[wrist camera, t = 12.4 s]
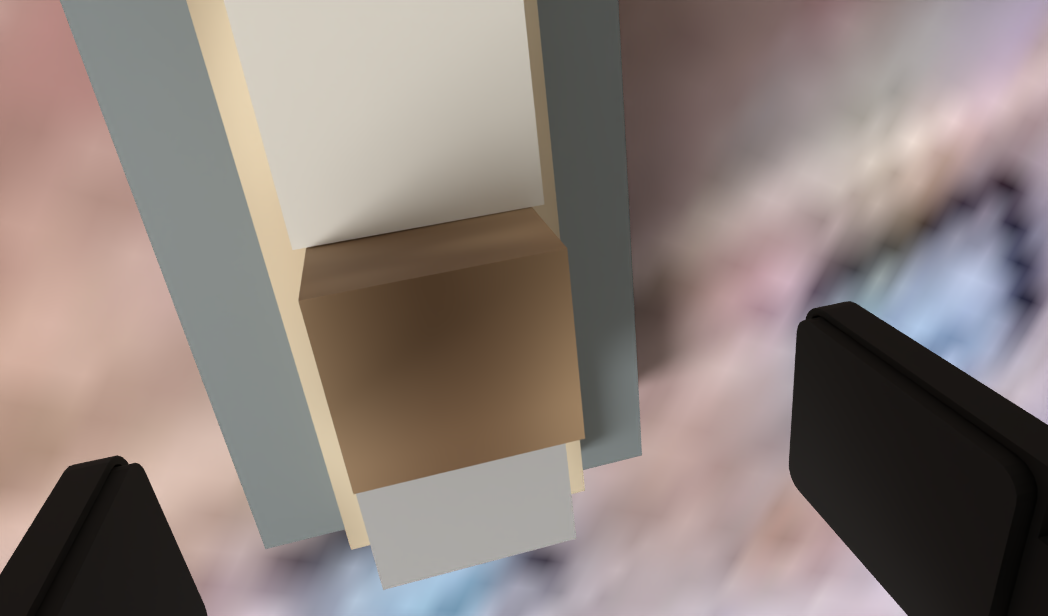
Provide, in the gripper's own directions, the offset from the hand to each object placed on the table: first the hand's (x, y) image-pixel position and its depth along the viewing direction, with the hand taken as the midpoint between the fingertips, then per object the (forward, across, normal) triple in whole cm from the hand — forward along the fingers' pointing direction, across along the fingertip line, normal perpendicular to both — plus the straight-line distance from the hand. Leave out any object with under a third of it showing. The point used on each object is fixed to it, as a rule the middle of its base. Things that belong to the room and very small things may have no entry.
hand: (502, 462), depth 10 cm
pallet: (+12, +1, 0) cm, 12 cm away
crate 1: (+10, 0, -4) cm, 11 cm away
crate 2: (+10, +1, +4) cm, 11 cm away
